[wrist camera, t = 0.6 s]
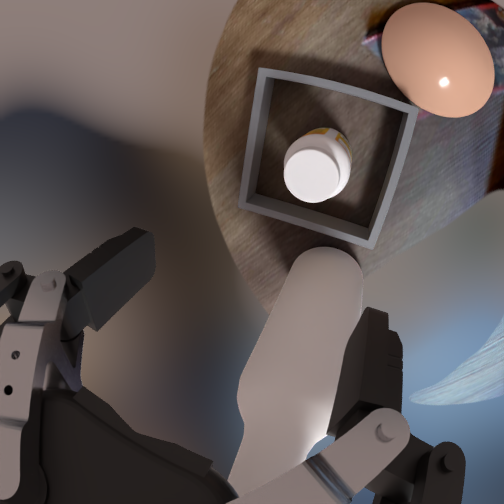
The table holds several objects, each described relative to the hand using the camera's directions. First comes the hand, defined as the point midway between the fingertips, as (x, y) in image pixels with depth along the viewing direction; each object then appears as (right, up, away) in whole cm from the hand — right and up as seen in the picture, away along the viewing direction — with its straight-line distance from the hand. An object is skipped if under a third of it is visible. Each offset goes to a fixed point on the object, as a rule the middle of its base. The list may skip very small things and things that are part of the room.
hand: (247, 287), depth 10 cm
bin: (+8, +11, +17) cm, 22 cm away
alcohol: (+9, -2, +24) cm, 26 cm away
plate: (+18, +19, +8) cm, 28 cm away
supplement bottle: (+8, +11, +18) cm, 22 cm away
